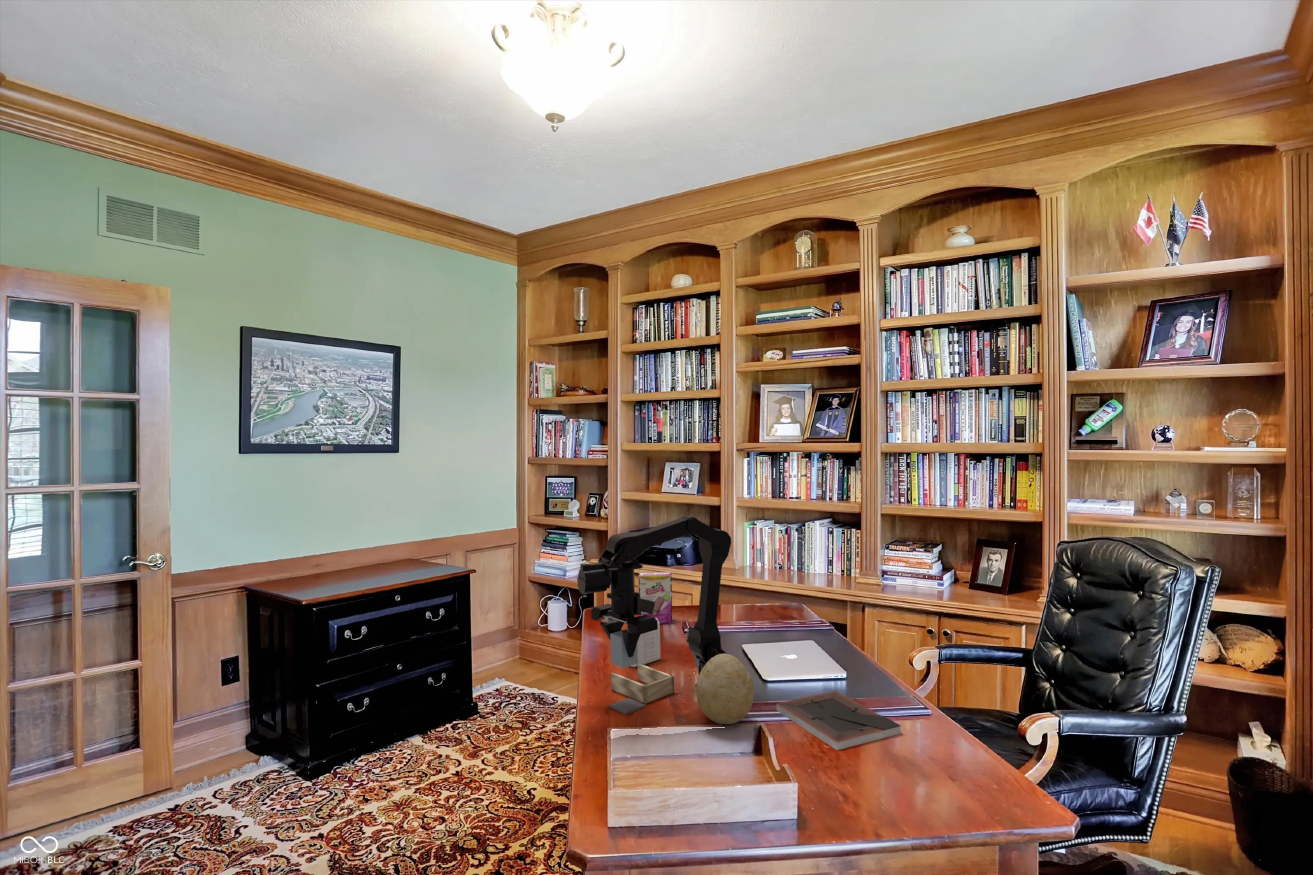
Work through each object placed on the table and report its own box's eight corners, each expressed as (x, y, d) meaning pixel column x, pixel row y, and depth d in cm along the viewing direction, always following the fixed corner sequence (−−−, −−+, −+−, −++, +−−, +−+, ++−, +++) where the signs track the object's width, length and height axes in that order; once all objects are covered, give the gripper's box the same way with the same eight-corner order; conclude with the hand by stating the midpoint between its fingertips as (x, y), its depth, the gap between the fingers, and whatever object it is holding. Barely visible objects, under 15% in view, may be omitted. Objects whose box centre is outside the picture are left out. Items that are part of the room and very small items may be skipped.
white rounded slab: (652, 655, 197) (651, 612, 197) (663, 659, 194) (661, 615, 194) (625, 665, 190) (624, 620, 189) (635, 669, 187) (634, 623, 186)
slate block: (637, 663, 162) (636, 633, 162) (622, 667, 159) (621, 637, 159) (626, 658, 166) (625, 629, 165) (611, 663, 163) (610, 633, 162)
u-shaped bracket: (674, 692, 170) (673, 676, 169) (645, 703, 163) (644, 686, 163) (640, 679, 179) (639, 663, 179) (611, 689, 173) (610, 673, 172)
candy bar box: (639, 625, 227) (637, 575, 227) (639, 621, 232) (638, 572, 232) (673, 624, 227) (671, 574, 227) (672, 619, 232) (671, 571, 232)
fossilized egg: (687, 716, 156) (686, 650, 155) (737, 706, 160) (736, 642, 160) (712, 739, 144) (710, 668, 143) (765, 728, 148) (763, 659, 148)
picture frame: (901, 736, 144) (835, 700, 164) (900, 724, 144) (835, 689, 164) (836, 753, 138) (776, 713, 157) (836, 741, 138) (776, 702, 157)
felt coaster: (645, 706, 161) (645, 704, 161) (625, 714, 157) (625, 712, 157) (628, 699, 166) (628, 697, 166) (609, 707, 162) (609, 705, 162)
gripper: (674, 589, 160) (676, 655, 161) (624, 577, 174) (626, 638, 175) (637, 597, 153) (639, 667, 153) (588, 584, 167) (590, 648, 167)
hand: (624, 654), depth 162 cm, fingers closed on slate block, 4 cm apart
